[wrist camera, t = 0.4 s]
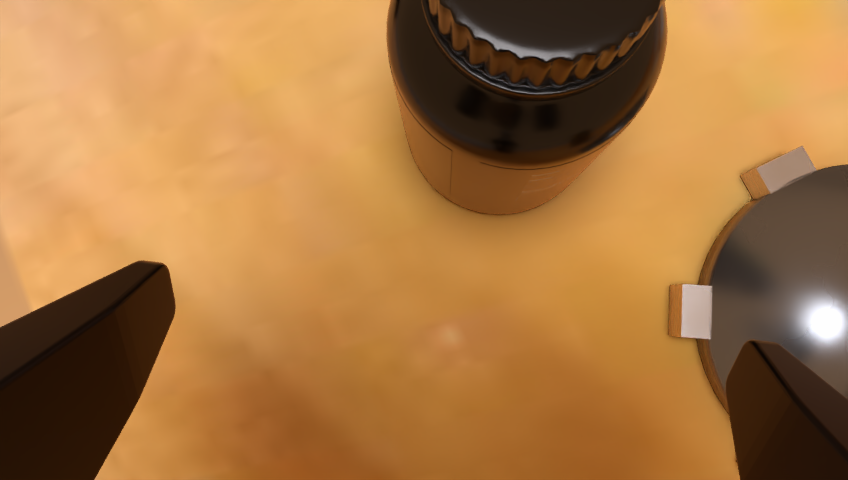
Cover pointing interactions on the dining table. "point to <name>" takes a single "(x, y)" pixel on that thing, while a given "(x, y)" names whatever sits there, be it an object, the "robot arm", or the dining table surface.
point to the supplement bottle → (519, 90)
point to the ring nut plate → (775, 274)
